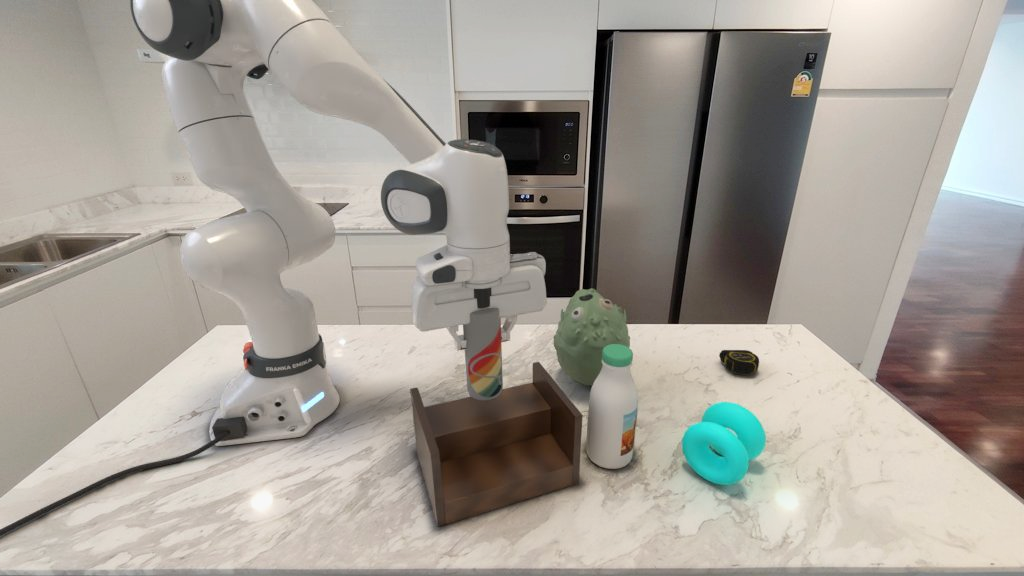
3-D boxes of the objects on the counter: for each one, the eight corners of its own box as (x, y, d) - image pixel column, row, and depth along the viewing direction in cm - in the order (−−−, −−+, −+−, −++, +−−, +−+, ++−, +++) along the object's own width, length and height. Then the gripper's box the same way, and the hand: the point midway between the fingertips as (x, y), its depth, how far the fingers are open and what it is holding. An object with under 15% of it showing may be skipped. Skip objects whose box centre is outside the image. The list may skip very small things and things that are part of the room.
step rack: (437, 527, 68) (430, 454, 63) (417, 453, 81) (409, 388, 76) (578, 483, 75) (582, 414, 70) (538, 422, 89) (538, 361, 84)
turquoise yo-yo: (762, 465, 78) (774, 415, 74) (737, 501, 71) (749, 447, 67) (702, 437, 84) (710, 389, 81) (675, 467, 78) (682, 416, 74)
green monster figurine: (618, 356, 110) (625, 275, 102) (636, 406, 93) (646, 313, 85) (550, 356, 110) (552, 275, 103) (555, 406, 93) (557, 313, 85)
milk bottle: (604, 477, 76) (613, 368, 68) (576, 447, 82) (582, 345, 75) (642, 460, 79) (654, 355, 72) (612, 433, 86) (621, 334, 78)
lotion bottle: (498, 403, 74) (493, 283, 66) (462, 399, 75) (454, 281, 67) (506, 382, 79) (503, 269, 71) (473, 378, 80) (466, 266, 72)
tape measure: (749, 362, 107) (752, 347, 106) (762, 379, 101) (765, 363, 99) (717, 361, 108) (720, 346, 106) (729, 378, 101) (731, 363, 100)
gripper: (537, 244, 74) (536, 324, 80) (404, 261, 68) (413, 346, 73) (554, 256, 69) (552, 341, 74) (412, 276, 62) (421, 367, 68)
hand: (482, 344), depth 74 cm, fingers closed on lotion bottle, 5 cm apart
